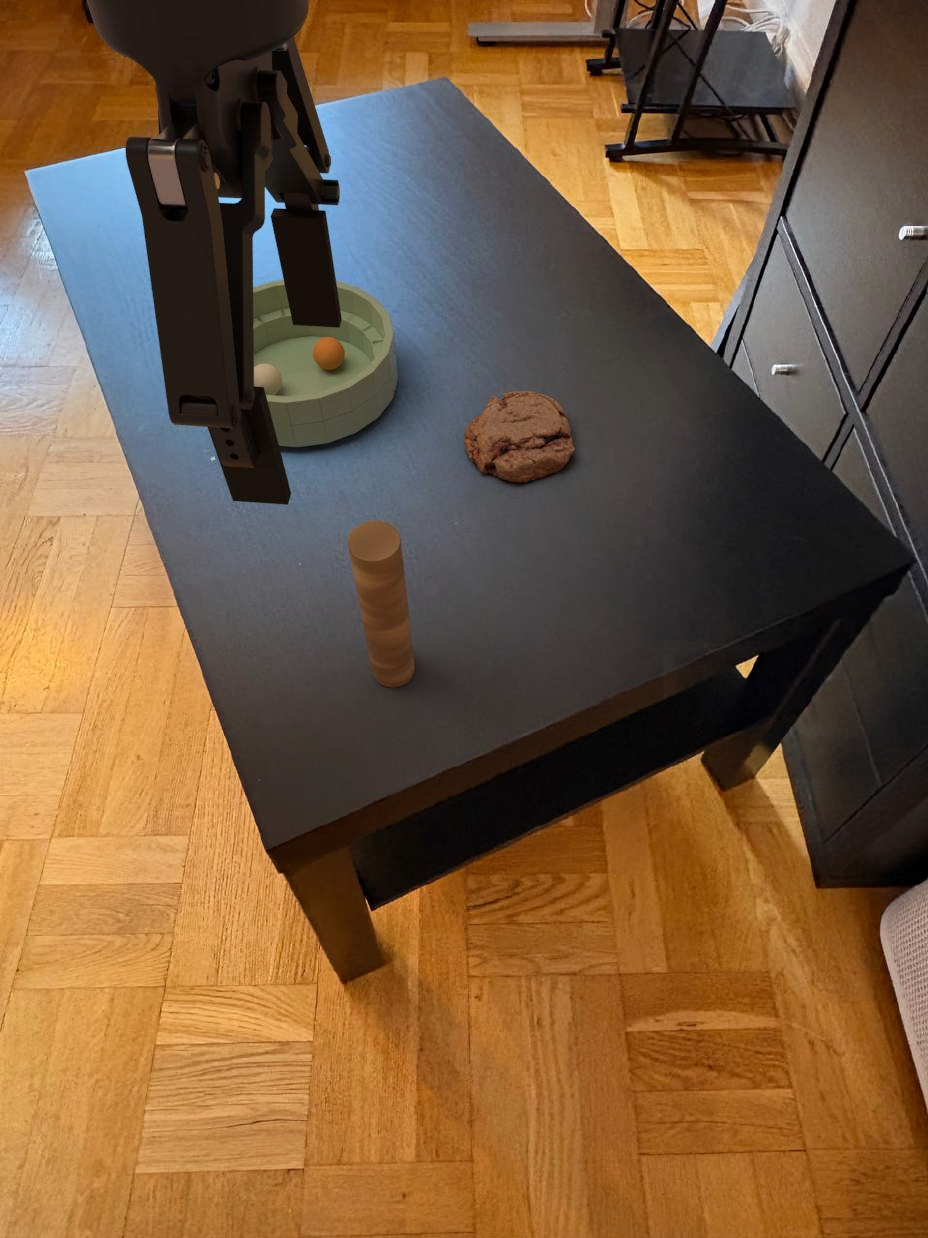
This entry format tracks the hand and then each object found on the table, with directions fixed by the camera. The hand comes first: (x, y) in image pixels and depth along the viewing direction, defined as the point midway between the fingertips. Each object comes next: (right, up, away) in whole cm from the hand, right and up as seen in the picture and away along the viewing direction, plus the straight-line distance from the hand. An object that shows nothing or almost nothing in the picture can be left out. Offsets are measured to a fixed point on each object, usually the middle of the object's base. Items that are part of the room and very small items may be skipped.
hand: (292, 402), depth 45 cm
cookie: (+14, +4, +32) cm, 35 cm away
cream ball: (-9, +11, +34) cm, 37 cm away
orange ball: (-4, +14, +36) cm, 39 cm away
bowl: (-6, +11, +36) cm, 39 cm away
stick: (+4, -15, +18) cm, 24 cm away
